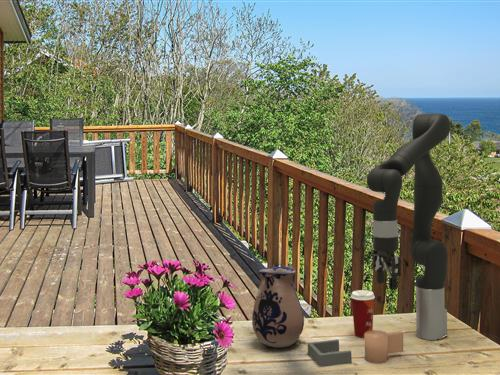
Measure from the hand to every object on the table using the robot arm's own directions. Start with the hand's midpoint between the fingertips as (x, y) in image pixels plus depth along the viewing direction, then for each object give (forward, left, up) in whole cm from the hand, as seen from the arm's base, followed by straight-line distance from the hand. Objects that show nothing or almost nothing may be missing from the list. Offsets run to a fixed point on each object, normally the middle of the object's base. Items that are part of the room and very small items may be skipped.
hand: (386, 286), depth 182 cm
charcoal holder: (+17, -5, -23) cm, 29 cm away
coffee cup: (-1, -21, -23) cm, 31 cm away
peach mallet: (+1, 0, -23) cm, 23 cm away
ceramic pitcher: (+28, -24, -23) cm, 43 cm away
